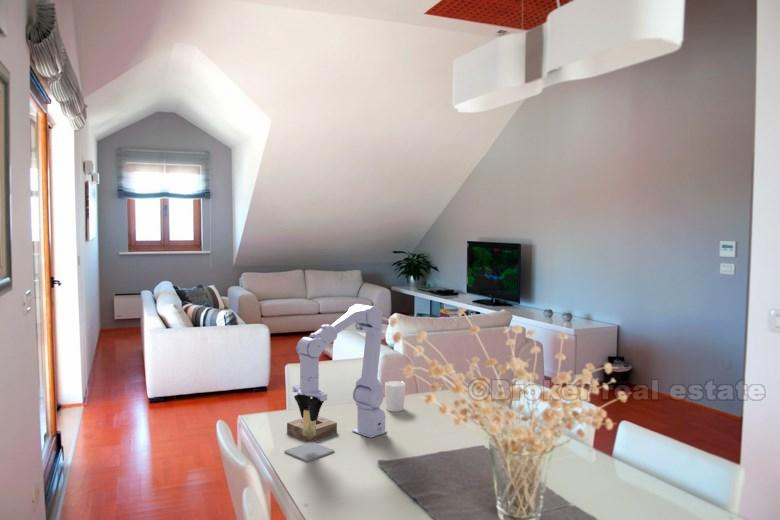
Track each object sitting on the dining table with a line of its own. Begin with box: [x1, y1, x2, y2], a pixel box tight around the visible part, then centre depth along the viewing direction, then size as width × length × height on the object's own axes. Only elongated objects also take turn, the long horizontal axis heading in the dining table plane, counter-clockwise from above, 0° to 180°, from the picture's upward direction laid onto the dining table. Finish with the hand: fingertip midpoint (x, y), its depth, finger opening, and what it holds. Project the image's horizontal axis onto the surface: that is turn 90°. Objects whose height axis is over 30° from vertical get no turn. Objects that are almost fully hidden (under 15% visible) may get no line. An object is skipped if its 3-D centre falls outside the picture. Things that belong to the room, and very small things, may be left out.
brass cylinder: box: [303, 407, 316, 437], centre depth 189 cm, size 4×4×8 cm
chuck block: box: [286, 415, 338, 442], centre depth 206 cm, size 12×12×4 cm
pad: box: [283, 441, 335, 463], centre depth 189 cm, size 11×11×1 cm
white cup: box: [384, 380, 406, 413], centre depth 233 cm, size 8×8×10 cm
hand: (309, 418), depth 189 cm, fingers closed on brass cylinder, 4 cm apart
